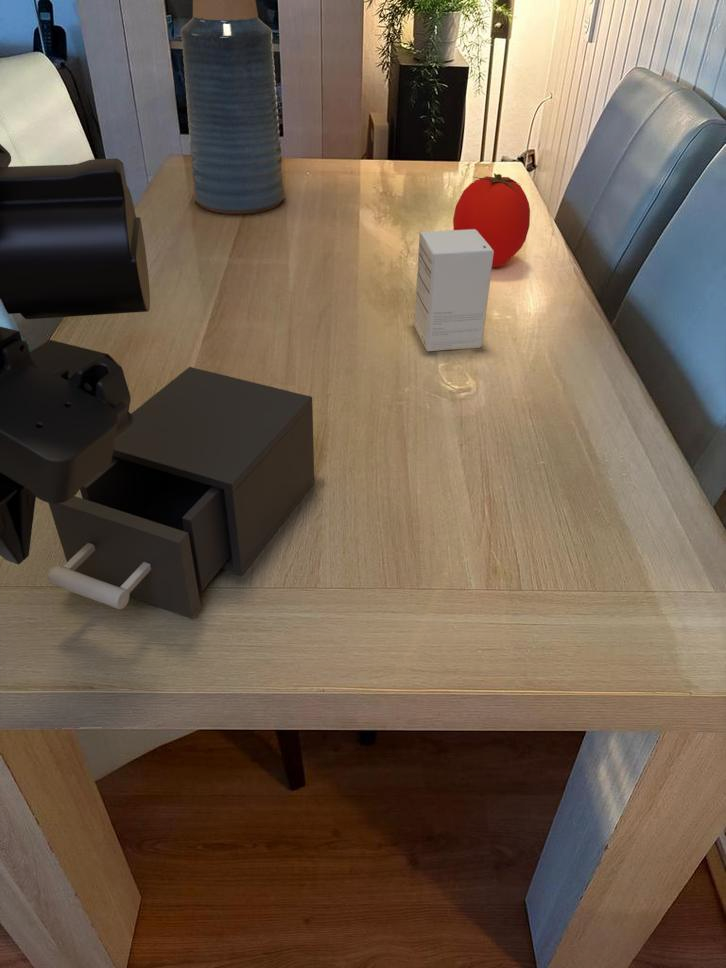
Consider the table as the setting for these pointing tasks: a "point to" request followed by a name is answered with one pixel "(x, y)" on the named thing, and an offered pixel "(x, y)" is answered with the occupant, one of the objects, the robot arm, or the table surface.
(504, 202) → the tomato
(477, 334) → the white packaging box
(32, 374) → the robot arm
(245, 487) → the cabinet casing
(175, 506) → the drawer
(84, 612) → the table surface
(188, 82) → the vase
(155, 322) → the table surface
